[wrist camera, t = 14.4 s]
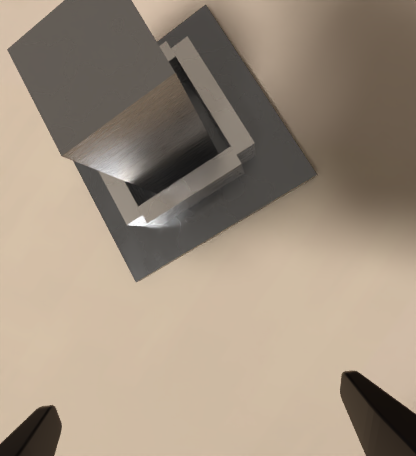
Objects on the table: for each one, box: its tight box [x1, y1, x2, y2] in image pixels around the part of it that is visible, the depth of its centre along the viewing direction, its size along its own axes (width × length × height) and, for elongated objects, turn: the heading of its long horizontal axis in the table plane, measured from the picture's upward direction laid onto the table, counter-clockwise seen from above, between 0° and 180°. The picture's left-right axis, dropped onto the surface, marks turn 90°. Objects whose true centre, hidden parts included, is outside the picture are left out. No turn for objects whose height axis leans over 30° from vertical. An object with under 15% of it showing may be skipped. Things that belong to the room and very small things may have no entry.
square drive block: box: [7, 0, 219, 194], centre depth 14 cm, size 5×5×9 cm
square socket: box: [74, 5, 317, 282], centre depth 17 cm, size 14×14×3 cm
